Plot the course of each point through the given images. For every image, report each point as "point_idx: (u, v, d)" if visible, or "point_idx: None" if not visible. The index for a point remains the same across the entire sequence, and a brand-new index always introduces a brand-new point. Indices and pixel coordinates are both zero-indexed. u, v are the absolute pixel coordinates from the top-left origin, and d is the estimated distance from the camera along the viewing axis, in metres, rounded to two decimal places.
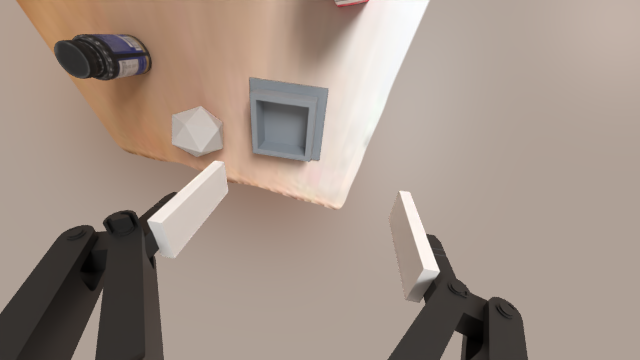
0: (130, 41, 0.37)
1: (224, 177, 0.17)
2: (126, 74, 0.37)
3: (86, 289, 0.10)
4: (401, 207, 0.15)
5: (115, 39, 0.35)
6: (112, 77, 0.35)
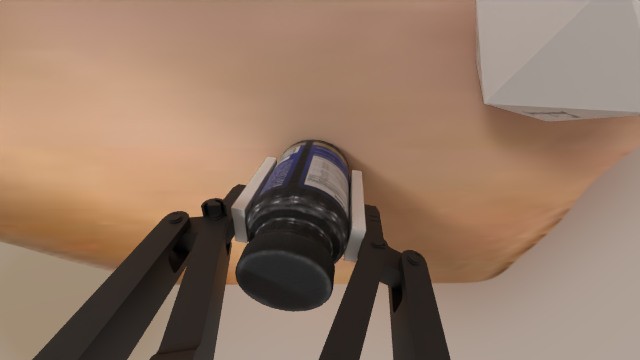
0: (281, 158, 0.17)
1: None
2: (342, 189, 0.14)
3: (170, 271, 0.11)
4: (351, 184, 0.17)
5: (269, 178, 0.15)
6: (343, 217, 0.12)
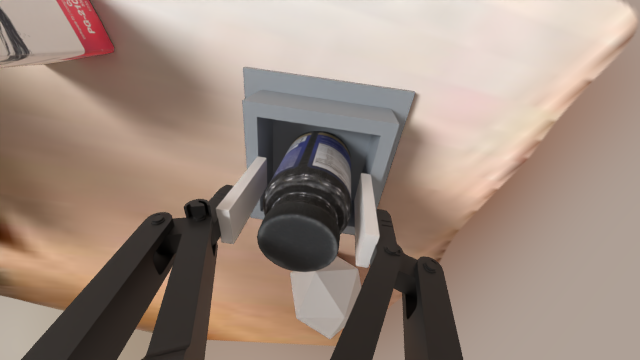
0: (290, 147, 0.19)
1: (265, 172, 0.18)
2: (345, 171, 0.16)
3: (155, 272, 0.11)
4: (360, 187, 0.16)
5: (281, 163, 0.17)
6: (346, 193, 0.14)
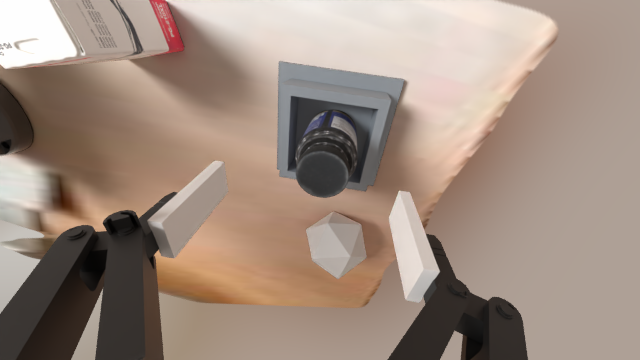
0: (312, 120, 0.26)
1: (224, 177, 0.17)
2: (353, 134, 0.23)
3: (86, 289, 0.10)
4: (401, 207, 0.15)
5: None
6: (353, 145, 0.21)
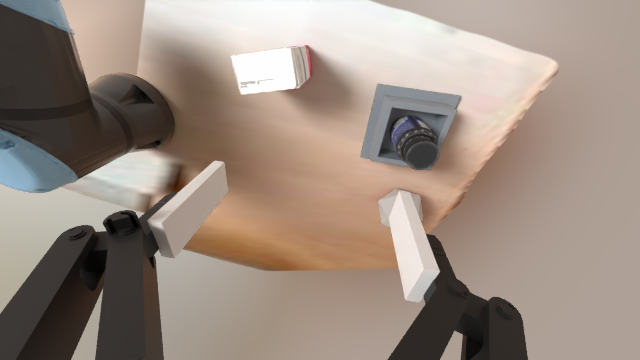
0: (399, 122, 0.39)
1: (224, 177, 0.17)
2: None
3: (86, 289, 0.10)
4: (401, 207, 0.15)
5: (400, 128, 0.37)
6: None
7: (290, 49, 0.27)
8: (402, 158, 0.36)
